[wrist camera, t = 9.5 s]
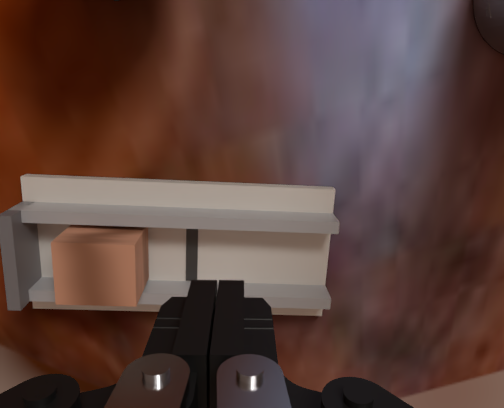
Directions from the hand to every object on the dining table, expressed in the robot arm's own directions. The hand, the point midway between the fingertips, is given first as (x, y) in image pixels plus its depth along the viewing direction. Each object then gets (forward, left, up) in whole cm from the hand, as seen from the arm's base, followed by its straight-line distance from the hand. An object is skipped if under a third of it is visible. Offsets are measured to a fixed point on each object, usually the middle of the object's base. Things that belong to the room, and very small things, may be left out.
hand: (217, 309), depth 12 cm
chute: (+4, +8, -25) cm, 27 cm away
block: (+10, +8, -24) cm, 27 cm away
